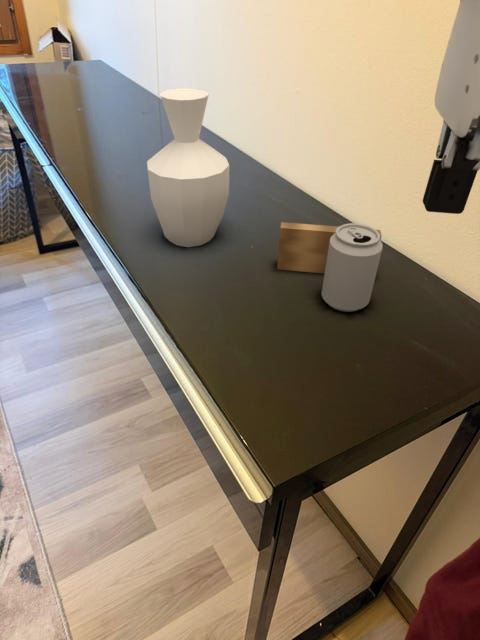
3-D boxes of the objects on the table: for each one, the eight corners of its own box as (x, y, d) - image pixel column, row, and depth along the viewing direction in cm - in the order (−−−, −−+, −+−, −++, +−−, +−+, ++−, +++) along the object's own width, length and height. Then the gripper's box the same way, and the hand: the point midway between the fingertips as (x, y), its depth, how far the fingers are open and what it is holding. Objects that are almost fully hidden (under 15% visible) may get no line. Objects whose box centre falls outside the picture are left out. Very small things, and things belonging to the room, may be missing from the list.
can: (341, 320, 68) (356, 250, 60) (310, 295, 73) (320, 227, 65) (378, 305, 71) (396, 237, 63) (346, 282, 76) (359, 215, 68)
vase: (168, 262, 80) (153, 110, 64) (145, 227, 90) (127, 87, 74) (241, 246, 84) (244, 100, 69) (212, 214, 94) (209, 80, 79)
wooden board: (370, 271, 78) (380, 229, 73) (371, 277, 77) (381, 235, 72) (278, 263, 80) (281, 221, 75) (277, 269, 78) (280, 227, 73)
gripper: (658, -63, 23) (513, 255, 34) (545, -58, 34) (465, 179, 46) (500, -66, 23) (410, 247, 35) (441, -60, 35) (388, 174, 46)
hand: (441, 208), depth 40 cm, fingers closed
